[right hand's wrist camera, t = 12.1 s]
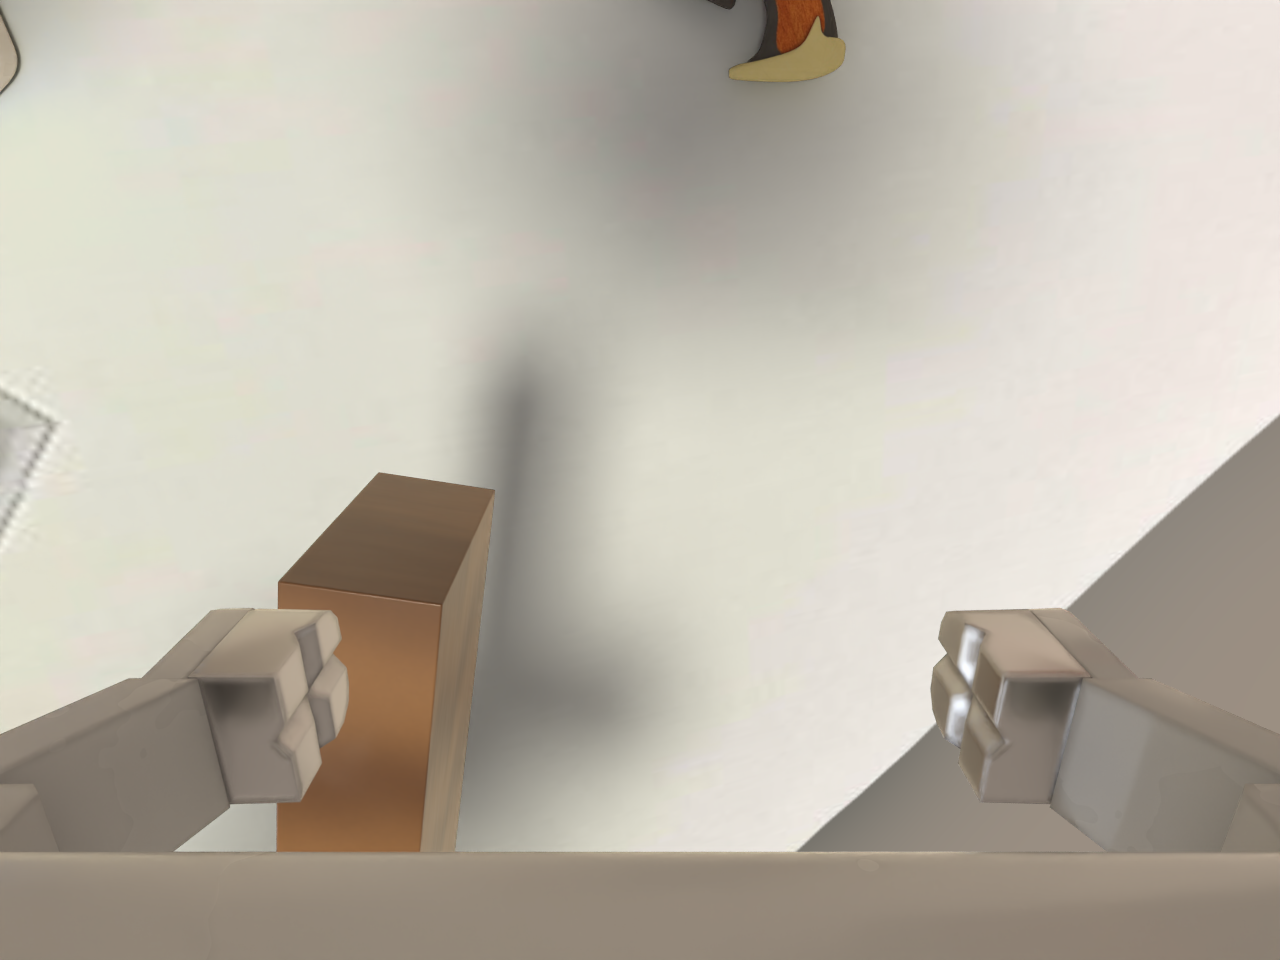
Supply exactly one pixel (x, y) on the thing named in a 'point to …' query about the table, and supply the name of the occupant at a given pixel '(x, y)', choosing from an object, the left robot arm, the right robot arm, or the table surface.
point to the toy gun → (793, 42)
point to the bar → (395, 665)
